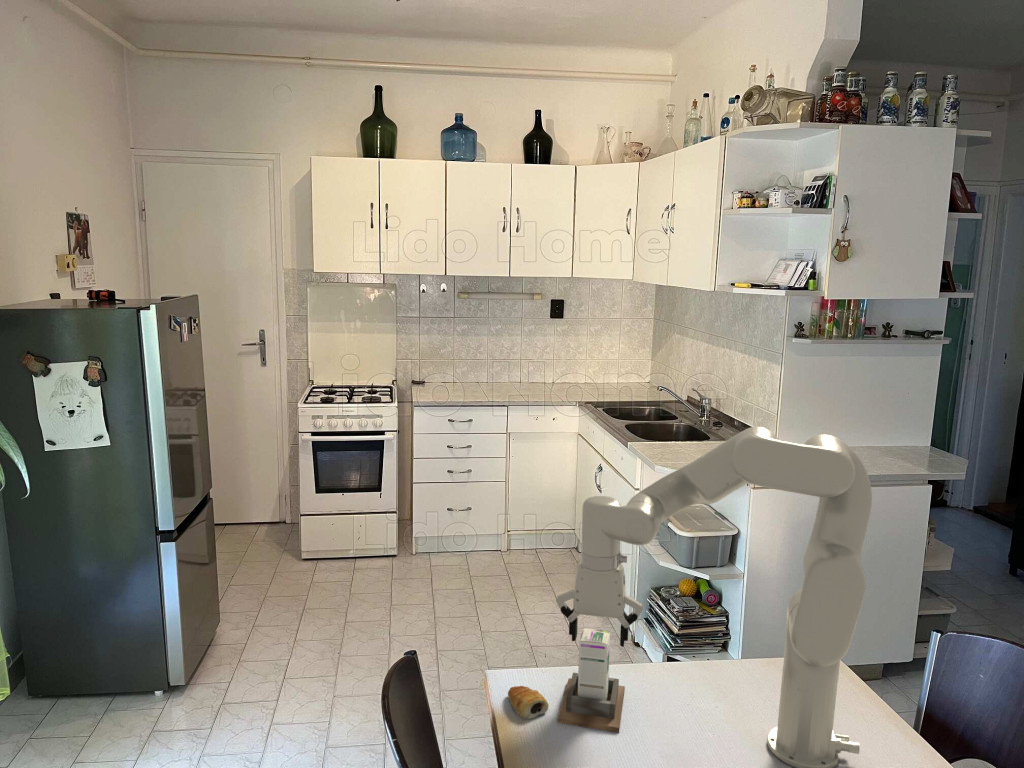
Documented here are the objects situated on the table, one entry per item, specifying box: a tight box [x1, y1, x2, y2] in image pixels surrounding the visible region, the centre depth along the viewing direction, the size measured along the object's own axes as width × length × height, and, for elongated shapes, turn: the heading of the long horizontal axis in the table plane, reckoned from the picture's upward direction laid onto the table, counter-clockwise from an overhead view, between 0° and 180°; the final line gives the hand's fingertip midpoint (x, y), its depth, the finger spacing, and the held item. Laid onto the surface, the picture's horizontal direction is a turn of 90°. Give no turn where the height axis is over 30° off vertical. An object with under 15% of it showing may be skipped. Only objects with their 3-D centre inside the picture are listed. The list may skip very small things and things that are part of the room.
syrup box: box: [577, 628, 611, 701], centre depth 152 cm, size 6×6×14 cm
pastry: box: [507, 685, 549, 720], centre depth 153 cm, size 9×7×4 cm
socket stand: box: [557, 672, 626, 733], centre depth 153 cm, size 12×15×4 cm
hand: (598, 640), depth 151 cm, fingers open, 9 cm apart
